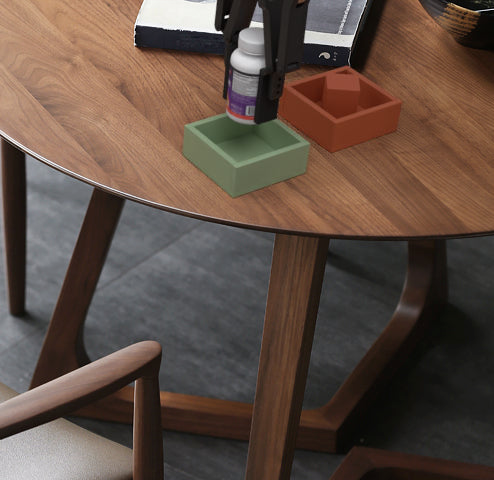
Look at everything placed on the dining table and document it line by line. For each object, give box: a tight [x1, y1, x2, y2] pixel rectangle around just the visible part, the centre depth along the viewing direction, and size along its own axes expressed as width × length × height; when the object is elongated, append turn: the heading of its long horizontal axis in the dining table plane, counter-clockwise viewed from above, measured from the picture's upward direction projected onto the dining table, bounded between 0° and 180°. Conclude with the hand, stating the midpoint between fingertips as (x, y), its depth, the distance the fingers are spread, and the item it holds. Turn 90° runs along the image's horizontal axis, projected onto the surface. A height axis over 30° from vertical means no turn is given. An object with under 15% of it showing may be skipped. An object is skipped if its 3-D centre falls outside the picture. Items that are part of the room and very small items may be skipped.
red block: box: [321, 73, 360, 119], centre depth 134 cm, size 4×4×5 cm
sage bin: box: [182, 111, 311, 199], centre depth 128 cm, size 11×11×4 cm
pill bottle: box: [225, 26, 277, 125], centre depth 121 cm, size 5×5×10 cm
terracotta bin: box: [277, 65, 403, 154], centre depth 135 cm, size 11×11×4 cm
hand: (249, 107), depth 124 cm, fingers closed on pill bottle, 5 cm apart
